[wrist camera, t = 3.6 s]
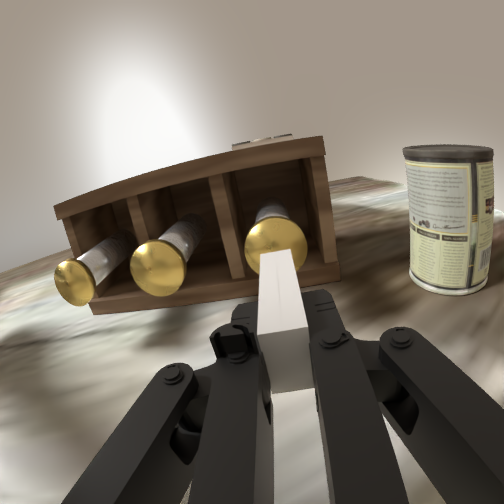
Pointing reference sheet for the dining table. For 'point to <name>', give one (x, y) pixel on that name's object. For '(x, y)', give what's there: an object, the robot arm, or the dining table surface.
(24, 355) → the dining table surface
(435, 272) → the coffee can
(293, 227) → the button
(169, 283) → the button
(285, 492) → the dining table surface
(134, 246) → the button
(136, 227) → the box
